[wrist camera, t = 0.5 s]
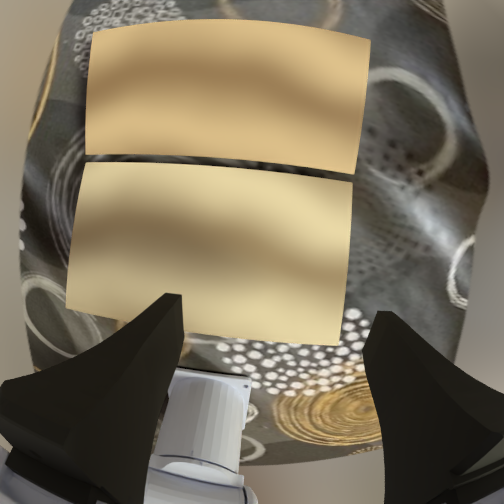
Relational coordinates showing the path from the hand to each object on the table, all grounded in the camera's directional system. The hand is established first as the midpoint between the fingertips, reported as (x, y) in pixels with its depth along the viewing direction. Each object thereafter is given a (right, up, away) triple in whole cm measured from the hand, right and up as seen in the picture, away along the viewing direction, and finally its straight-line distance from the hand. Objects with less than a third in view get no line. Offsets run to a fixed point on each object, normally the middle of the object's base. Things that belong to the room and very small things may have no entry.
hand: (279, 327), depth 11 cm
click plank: (-4, +3, +7) cm, 8 cm away
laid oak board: (-3, +12, +5) cm, 13 cm away
